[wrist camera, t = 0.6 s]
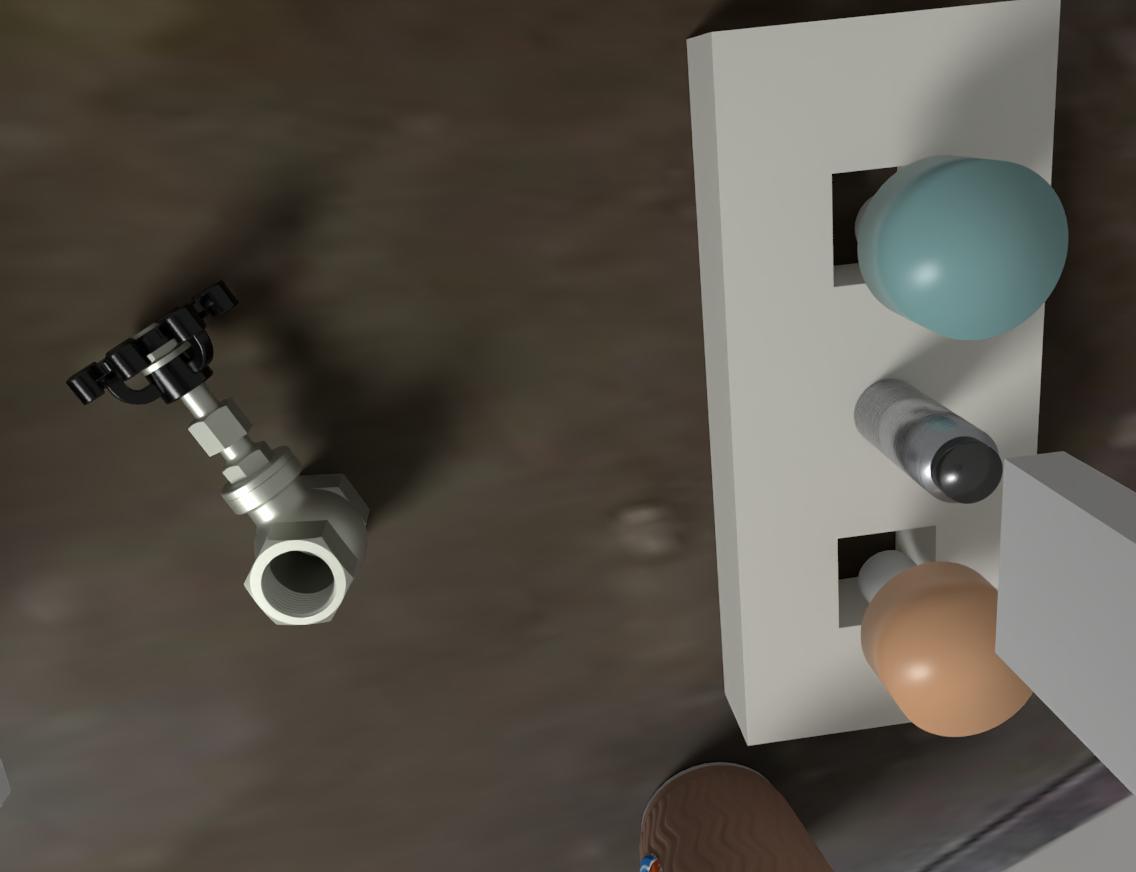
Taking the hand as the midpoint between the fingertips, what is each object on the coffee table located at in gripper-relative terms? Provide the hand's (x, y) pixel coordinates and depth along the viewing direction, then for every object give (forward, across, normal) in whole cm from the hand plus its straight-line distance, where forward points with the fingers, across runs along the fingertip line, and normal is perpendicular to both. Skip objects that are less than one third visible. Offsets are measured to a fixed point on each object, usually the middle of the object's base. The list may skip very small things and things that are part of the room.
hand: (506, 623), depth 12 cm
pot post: (+24, +15, -6) cm, 29 cm away
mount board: (+28, +15, -6) cm, 32 cm away
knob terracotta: (+24, +15, -13) cm, 31 cm away
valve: (+29, -9, -6) cm, 31 cm away
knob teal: (+24, +15, +1) cm, 28 cm away
